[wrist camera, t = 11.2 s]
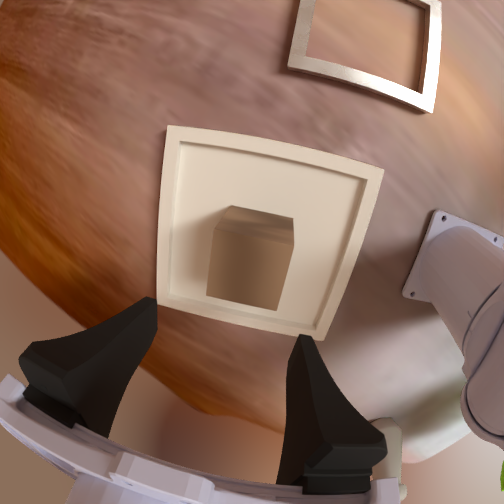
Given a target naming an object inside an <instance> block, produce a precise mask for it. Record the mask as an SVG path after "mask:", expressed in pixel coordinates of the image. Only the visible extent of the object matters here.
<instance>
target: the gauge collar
mask: <svg viewBox="0 0 504 504" xmlns="http://www.w3.org/2000/svg"><path fill="white" fill-rule="evenodd" d="M407 1H409V2H411V3H413V4H416V5H418V6H420V7H422V8H424V9H425V30H424V44H423V55H422V64H421V72H420V80H419V87H418V93H417V92H414V91H412V90H410V89H407V88H405V87H403V86H400V85H398V84H395V83H393V82H390V81H388V80H385V79H382V78H379V77H377V76H374V75H371V74H368V73H365V72H362V71H359V70H356V69H352V68H349V67H346V66H342V65H339V64H335V63H331V62H327V61H324V60H319V59H315V58H311V57H306V56H305V55H306V49H307V44H308V39H309V34H310V28H311V23H312V18H313V12H314V7H315V2H316V0H300V5H299V10H298V15H297V20H296V25H295V30H294V35H293V40H292V45H291V50H290V55H289V60H288V65H287V69H288V70H293V71H298V72H303V73H307V74H312V75H316V76H320V77H324V78H328V79H332V80H335V81H339V82H343V83H346V84H349V85H353V86H356V87H359V88H362V89H365V90H368V91H371V92H374V93H377V94H380V95H383V96H385V97H388V98H391V99H393V100H396V101H398V102H401V103H403V104H406V105H408V106H410V107H413V108H415V109H417V110H420V111H422V112H424V113H432V111H433V105H434V99H435V92H436V85H437V77H438V67H439V57H440V42H441V2H439V1H437V0H407Z"/></svg>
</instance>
